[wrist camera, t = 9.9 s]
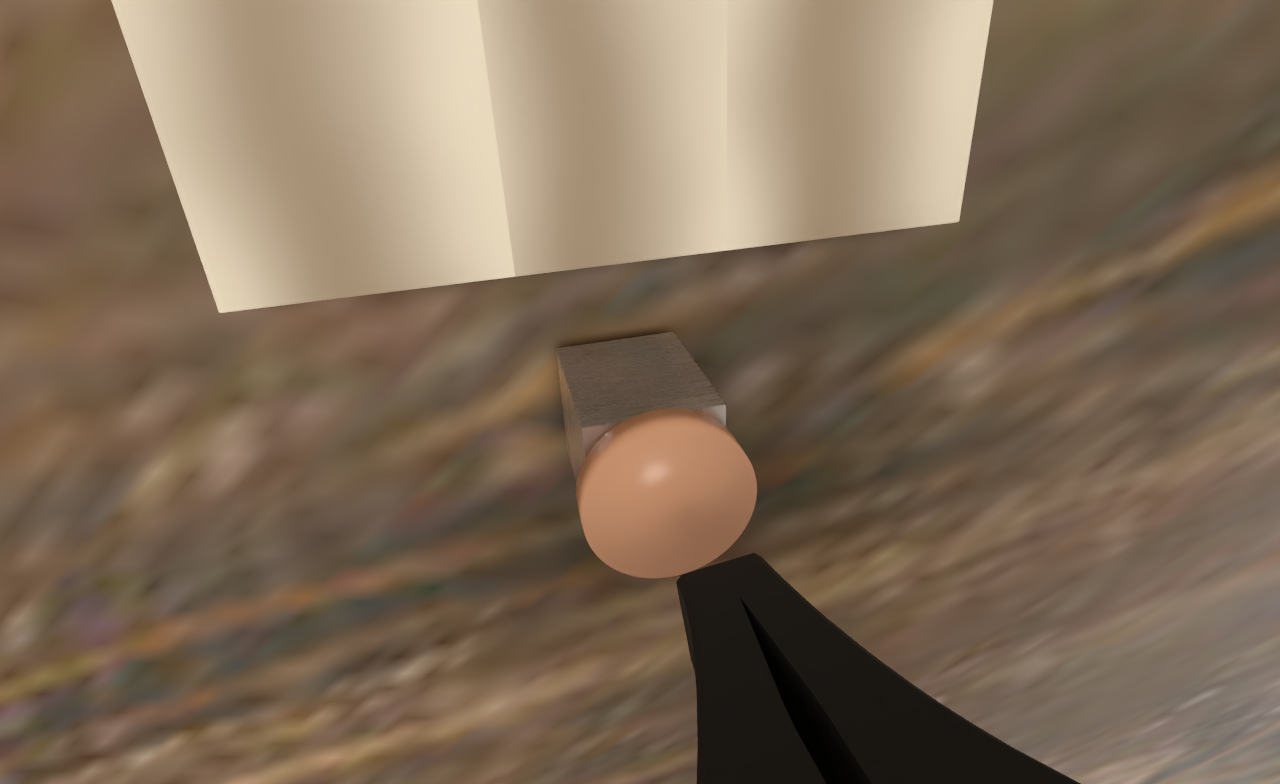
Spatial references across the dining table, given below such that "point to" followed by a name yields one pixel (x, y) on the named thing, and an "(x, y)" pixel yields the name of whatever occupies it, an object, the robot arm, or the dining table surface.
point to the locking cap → (665, 493)
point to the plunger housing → (627, 386)
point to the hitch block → (545, 131)
